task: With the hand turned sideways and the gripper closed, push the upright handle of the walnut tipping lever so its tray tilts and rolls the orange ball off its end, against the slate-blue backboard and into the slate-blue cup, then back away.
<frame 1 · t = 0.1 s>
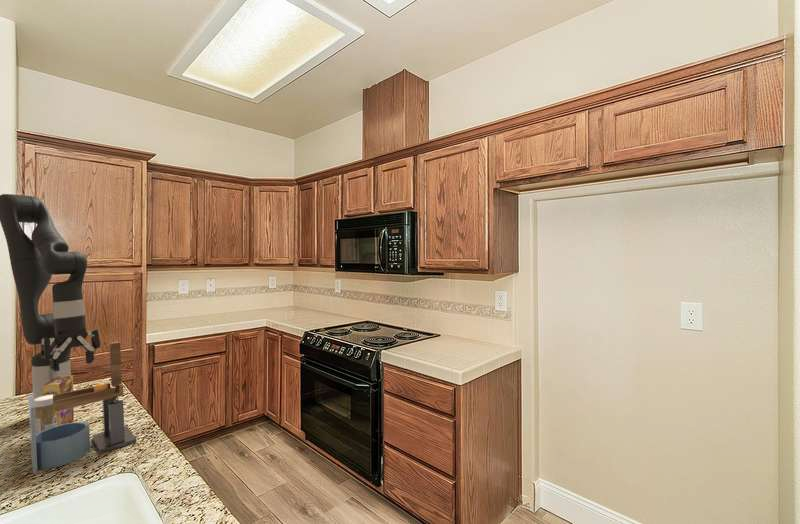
hand: (73, 367, 117), 17 cm above the worktop, tool pointing down, fingers open, 8 cm apart
ball: (100, 388, 103), point 15 cm above the worktop, touching lever
lever: (88, 375, 101), point 20 cm above the worktop, hinge at 0.0°, touching ball
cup: (62, 456, 97), on the worktop
lever stand: (114, 440, 105), on the worktop
sprinkles bottle: (47, 446, 103), on the worktop
candy box: (59, 431, 112), on the worktop
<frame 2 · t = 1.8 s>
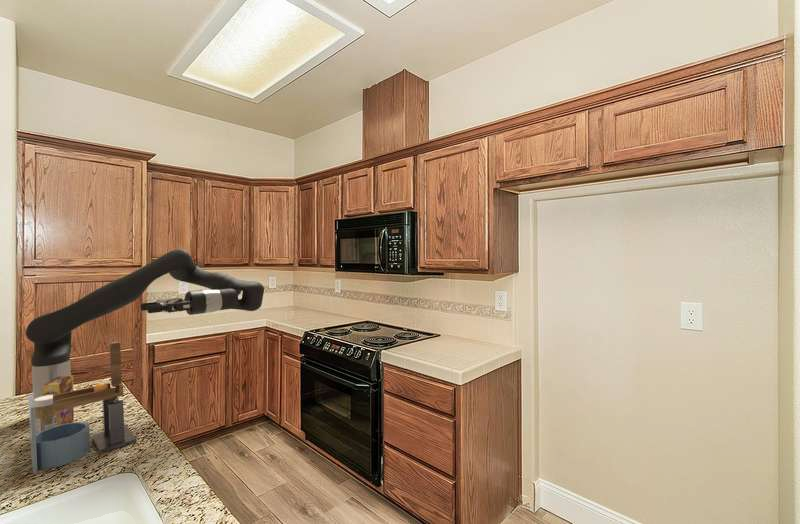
hand: (144, 308, 111), 36 cm above the worktop, tool horizontal, fingers open, 7 cm apart
nothing on the worktop moved.
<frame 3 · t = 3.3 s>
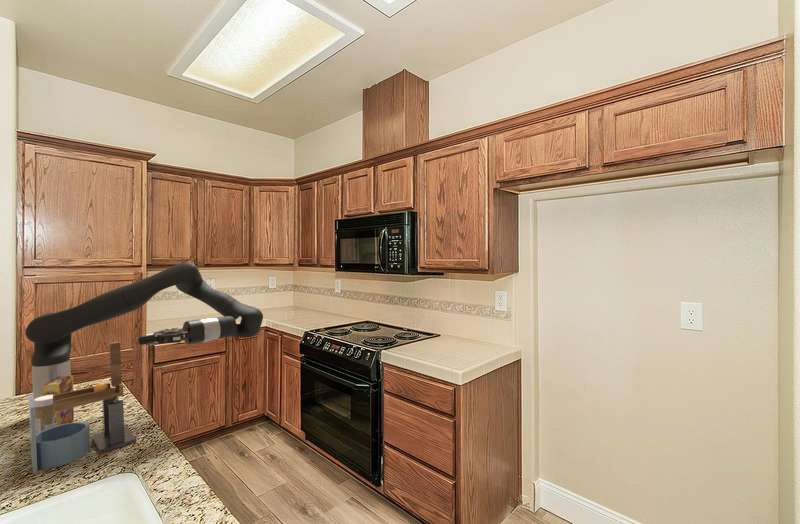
hand: (138, 341, 109), 27 cm above the worktop, tool horizontal, fingers closed
nothing on the worktop moved.
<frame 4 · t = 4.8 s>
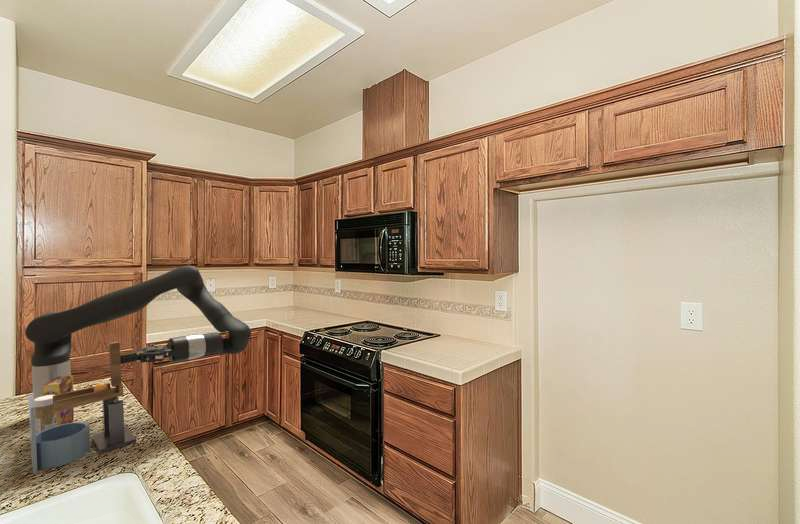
hand: (119, 359, 106), 22 cm above the worktop, tool horizontal, fingers closed
lever: (88, 376, 101), point 20 cm above the worktop, hinge at 0.5°, touching ball, gripper
everything else where it was.
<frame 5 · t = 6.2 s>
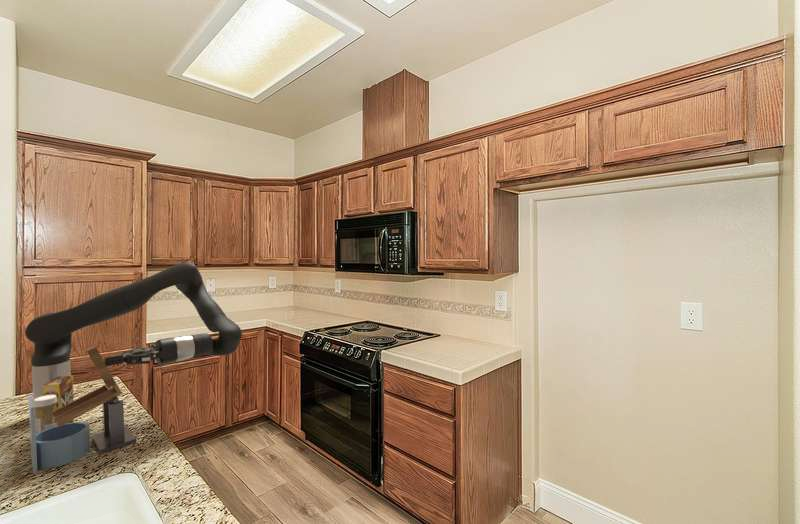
hand: (105, 361, 104), 23 cm above the worktop, tool horizontal, fingers closed
ball: (77, 442, 99), point 2 cm above the worktop, tilted 107°, touching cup
lever: (78, 386, 99), point 17 cm above the worktop, hinge at 20.2°, touching gripper
everything else where it was.
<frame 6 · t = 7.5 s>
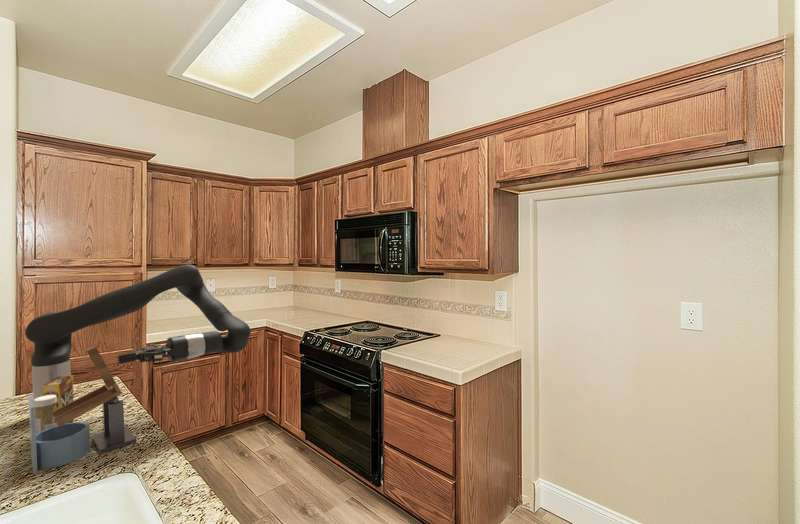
hand: (118, 359, 106), 23 cm above the worktop, tool horizontal, fingers closed
ball: (66, 445, 98), point 2 cm above the worktop, tilted 169°, touching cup
lever: (78, 386, 99), point 17 cm above the worktop, hinge at 20.2°
everything else where it was.
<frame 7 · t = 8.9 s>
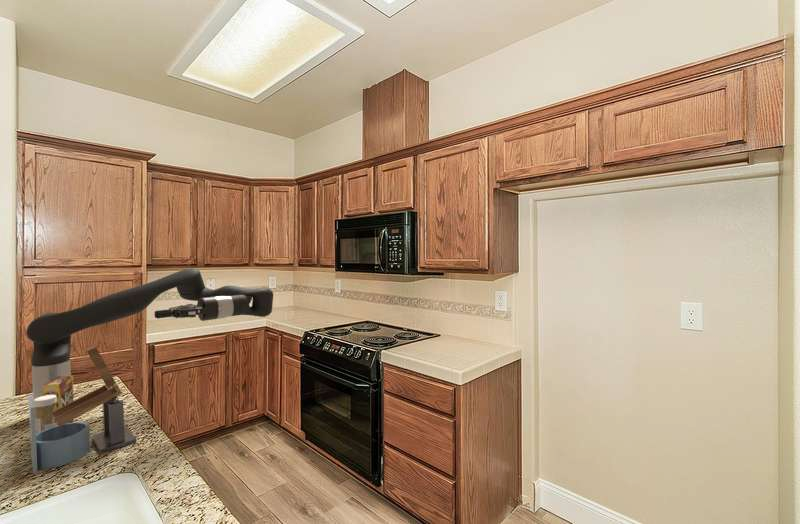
hand: (155, 314, 112), 34 cm above the worktop, tool horizontal, fingers closed
ball: (54, 449, 96), point 2 cm above the worktop, tilted 78°, touching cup
everything else where it was.
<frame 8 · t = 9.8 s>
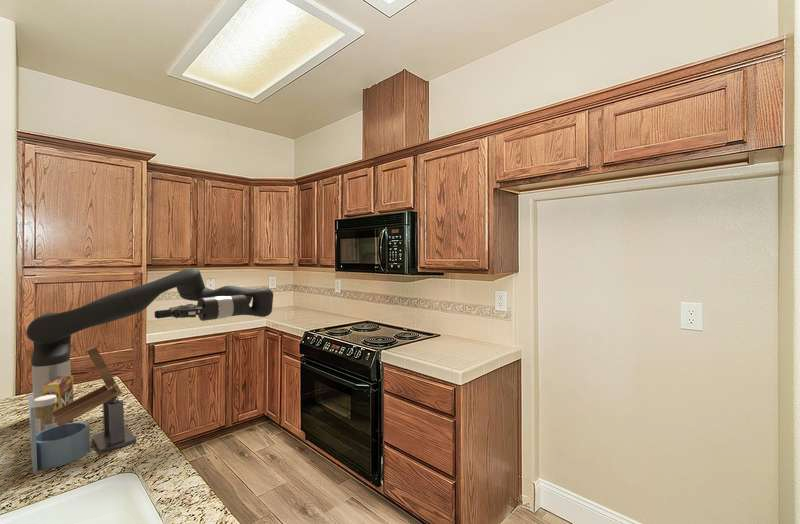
hand: (155, 314, 112), 34 cm above the worktop, tool horizontal, fingers closed
ball: (46, 451, 95), point 2 cm above the worktop, tilted 20°, touching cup
everything else where it was.
at the end: lever at +20° (first picture: +0°); ball 3.1 cm from the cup (horizontally); ball point 2.5 cm above the worktop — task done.
